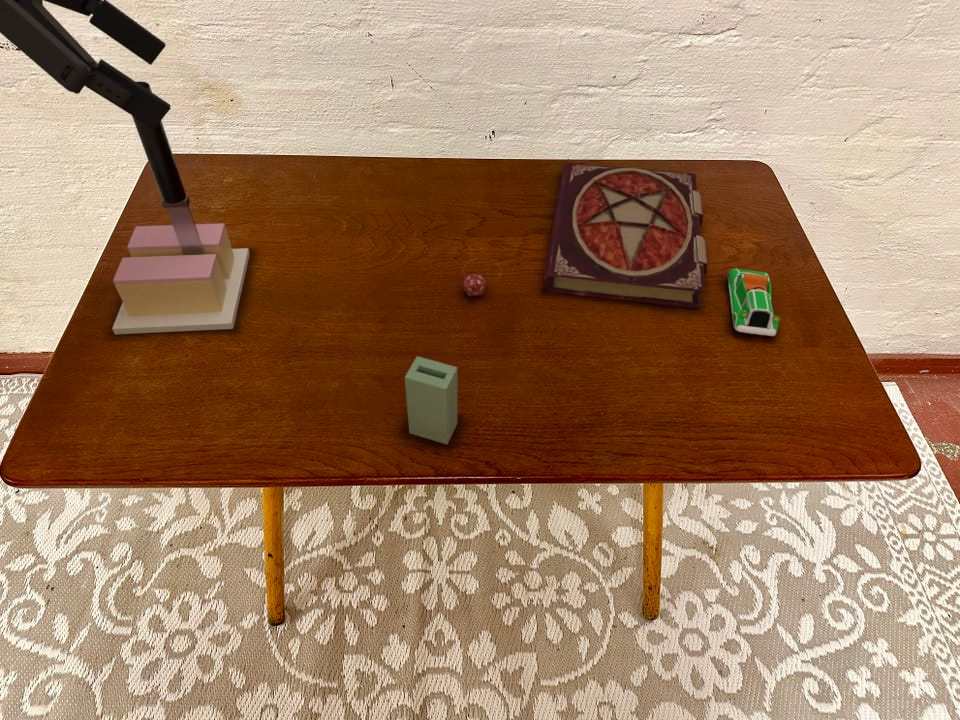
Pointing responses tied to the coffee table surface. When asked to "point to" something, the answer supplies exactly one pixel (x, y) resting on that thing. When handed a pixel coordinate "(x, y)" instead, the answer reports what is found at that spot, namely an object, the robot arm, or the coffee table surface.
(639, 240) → the book
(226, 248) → the cake
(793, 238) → the coffee table surface
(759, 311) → the toy car
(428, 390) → the knife stand
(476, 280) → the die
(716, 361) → the coffee table surface
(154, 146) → the knife
